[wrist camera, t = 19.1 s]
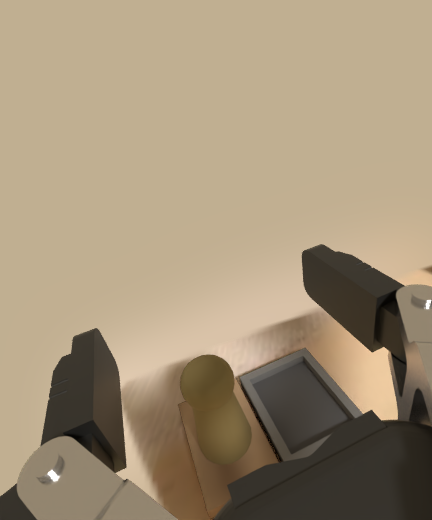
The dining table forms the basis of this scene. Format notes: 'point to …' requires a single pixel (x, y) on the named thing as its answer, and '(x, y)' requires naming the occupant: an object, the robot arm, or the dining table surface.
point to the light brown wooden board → (220, 476)
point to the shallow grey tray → (297, 404)
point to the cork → (216, 409)
